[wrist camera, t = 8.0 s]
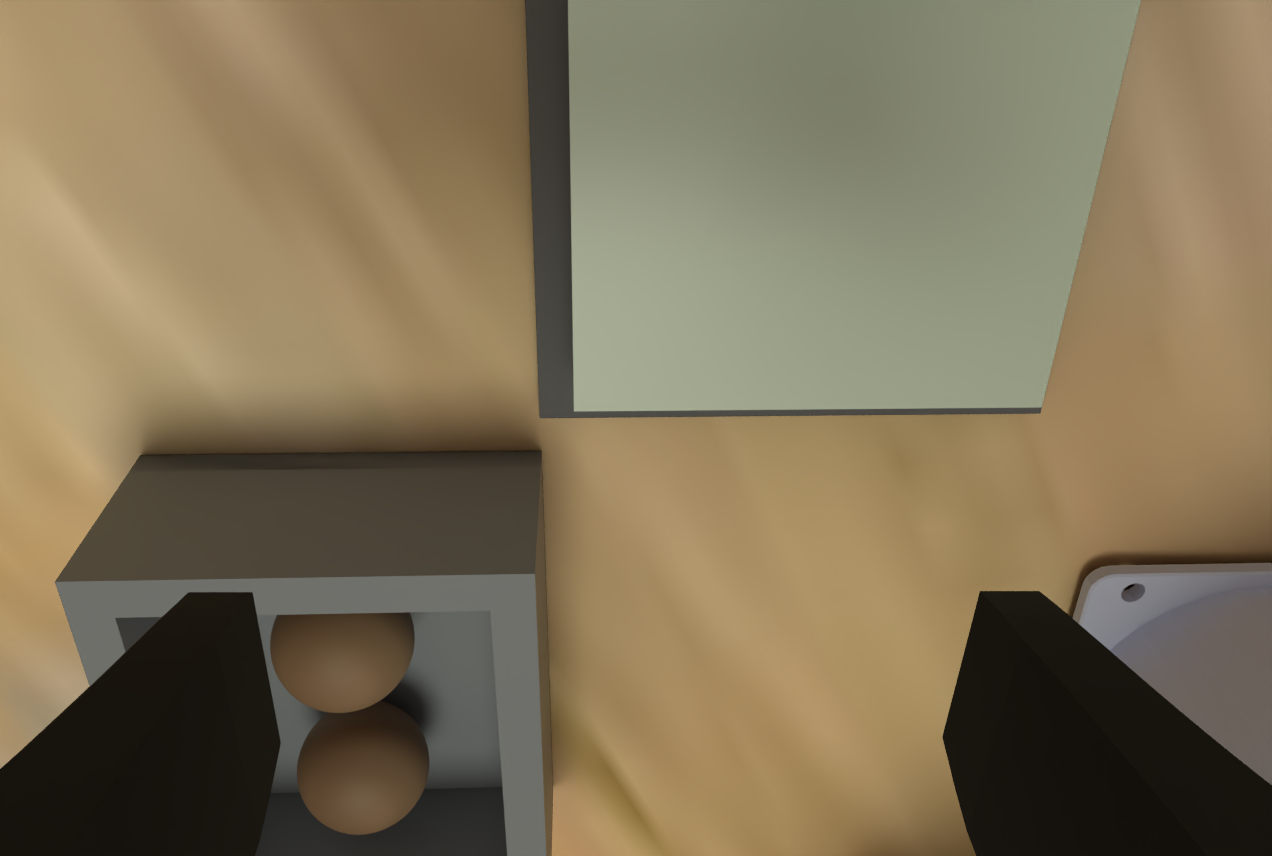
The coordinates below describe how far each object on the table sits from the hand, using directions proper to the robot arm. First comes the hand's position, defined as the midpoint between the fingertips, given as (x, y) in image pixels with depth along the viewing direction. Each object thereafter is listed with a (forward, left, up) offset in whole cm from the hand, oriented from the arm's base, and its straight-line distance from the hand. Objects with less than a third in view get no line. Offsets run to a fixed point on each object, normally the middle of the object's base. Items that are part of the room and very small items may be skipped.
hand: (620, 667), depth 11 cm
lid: (-4, -3, -9) cm, 11 cm away
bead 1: (+5, +7, -10) cm, 14 cm away
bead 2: (+5, +11, -10) cm, 16 cm away
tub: (+5, +9, -10) cm, 15 cm away
